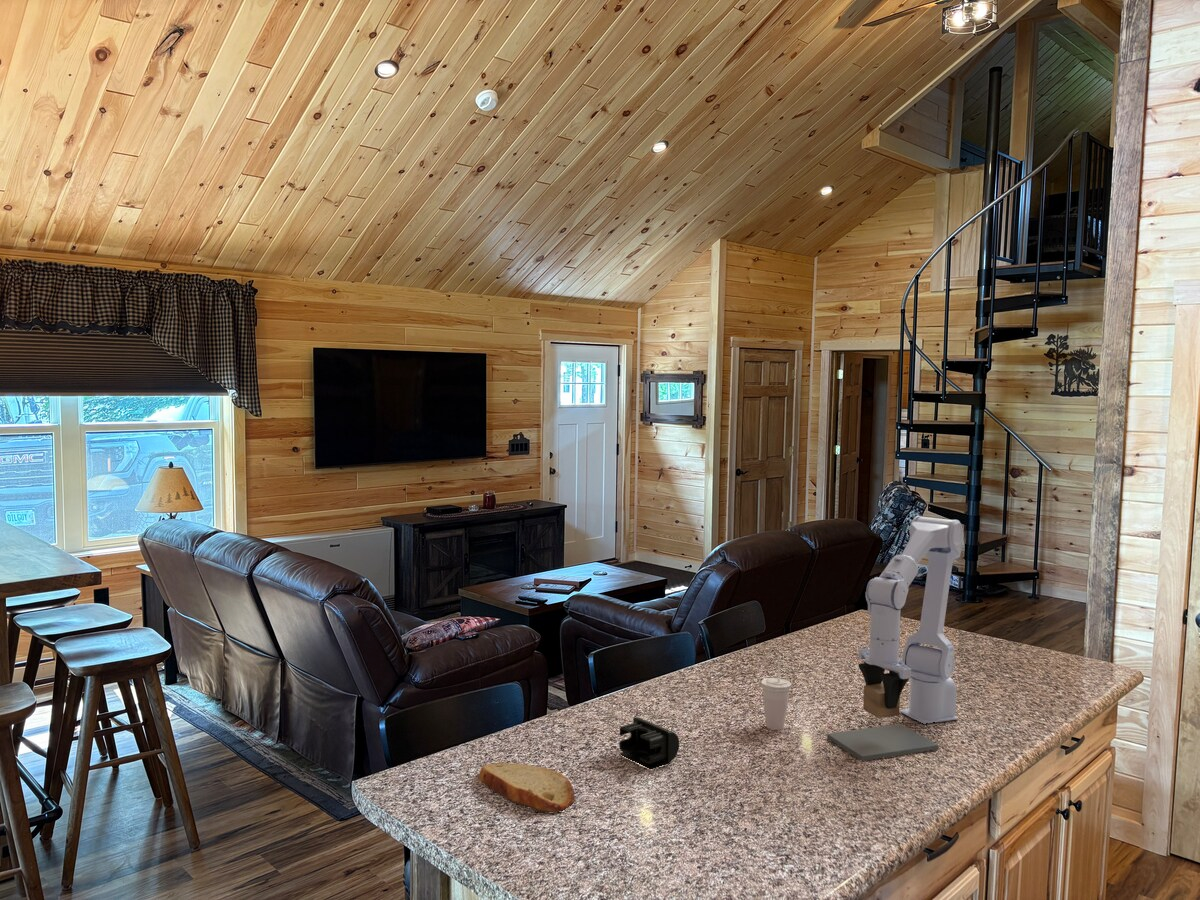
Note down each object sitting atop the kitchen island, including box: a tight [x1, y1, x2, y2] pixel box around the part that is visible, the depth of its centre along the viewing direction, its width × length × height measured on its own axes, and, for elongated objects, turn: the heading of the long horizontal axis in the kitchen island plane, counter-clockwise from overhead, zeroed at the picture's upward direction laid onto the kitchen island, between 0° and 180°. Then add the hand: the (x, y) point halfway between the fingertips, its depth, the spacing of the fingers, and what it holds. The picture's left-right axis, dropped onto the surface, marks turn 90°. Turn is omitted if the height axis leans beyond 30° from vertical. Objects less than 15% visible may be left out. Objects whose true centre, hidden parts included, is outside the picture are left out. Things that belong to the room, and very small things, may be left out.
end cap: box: [619, 716, 680, 769], centre depth 175 cm, size 10×7×7 cm
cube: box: [862, 682, 901, 719], centre depth 183 cm, size 5×5×5 cm
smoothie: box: [760, 661, 792, 731], centre depth 191 cm, size 6×6×14 cm
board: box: [826, 723, 939, 762], centre depth 183 cm, size 18×12×1 cm, turn 109°
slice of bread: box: [477, 762, 576, 813], centre depth 160 cm, size 18×18×4 cm
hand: (882, 703), depth 183 cm, fingers closed on cube, 5 cm apart
